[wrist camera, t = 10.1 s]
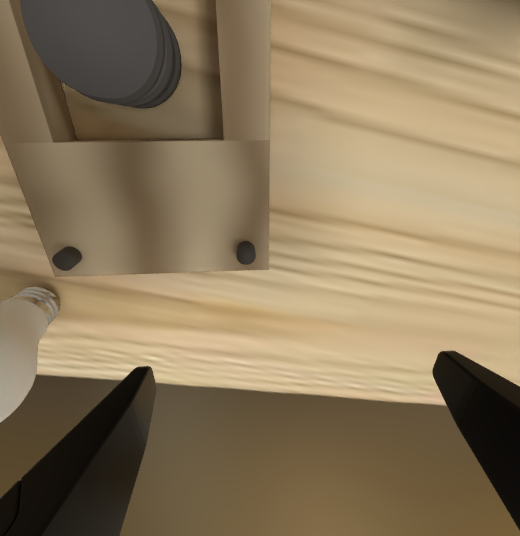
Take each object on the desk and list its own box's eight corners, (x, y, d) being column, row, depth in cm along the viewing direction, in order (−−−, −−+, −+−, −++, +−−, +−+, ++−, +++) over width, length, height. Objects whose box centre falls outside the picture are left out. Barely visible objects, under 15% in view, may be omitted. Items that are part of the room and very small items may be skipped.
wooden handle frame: (266, -40, 14) (275, -99, 10) (265, 254, 21) (271, 282, 18) (-30, -46, 13) (-136, -112, 10) (74, 261, 21) (37, 291, 17)
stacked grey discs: (177, 4, 15) (141, -66, 9) (188, 108, 17) (164, 101, 11) (84, 2, 14) (-10, -70, 9) (107, 109, 16) (43, 101, 11)
